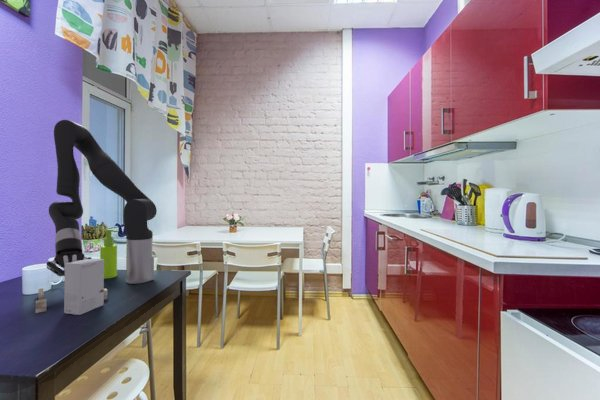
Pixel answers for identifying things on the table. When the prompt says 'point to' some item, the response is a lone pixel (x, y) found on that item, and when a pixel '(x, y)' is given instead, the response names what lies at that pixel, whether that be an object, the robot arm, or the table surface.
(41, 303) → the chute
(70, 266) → the skincare box
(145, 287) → the table surface
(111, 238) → the soap dispenser
